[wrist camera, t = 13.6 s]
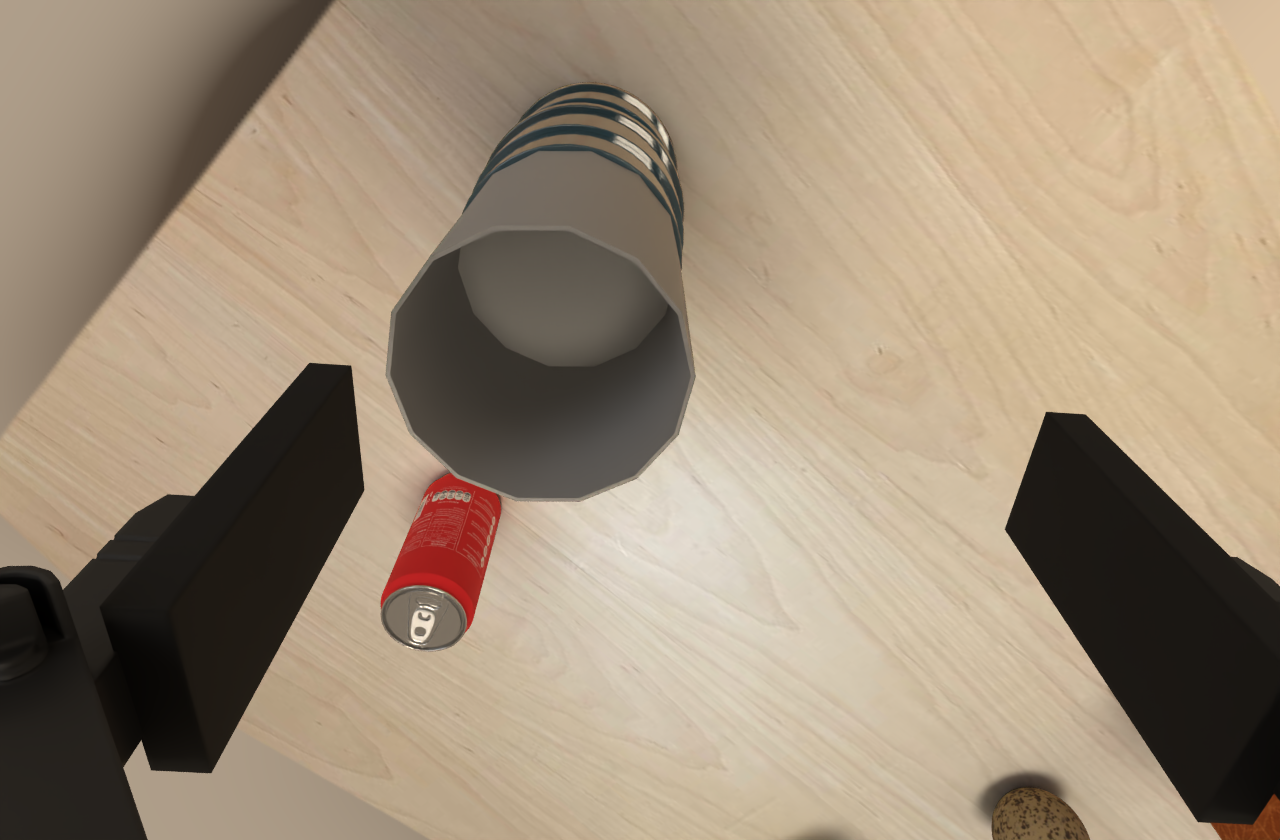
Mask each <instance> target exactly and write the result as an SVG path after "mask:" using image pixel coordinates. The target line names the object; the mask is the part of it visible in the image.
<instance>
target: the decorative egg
mask: <svg viewBox="0 0 1280 840" xmlns="http://www.w3.org/2000/svg"><path fill="white" fill-rule="evenodd" d="M992 837H993V840H1090V838H1089V835H1088V833H1087V831H1086V829H1085V827H1084V825H1083V823H1082V822H1081V820H1080V818H1079V817H1078V816H1077V814H1076V813H1075V812H1074V811H1073V810H1072V809H1071V807H1070V806H1068V805H1067V804H1066V803H1065V802H1064V801H1063V800H1061V799H1060V798H1058V797H1057V796H1055V795H1053V794H1052V793H1050V792H1047V791H1045V790H1042V789H1038V788H1031V787H1024V788H1019V789H1015V790H1013V791H1011V792H1009V793H1007V794H1006V795H1005V796H1003V797H1002V799H1001V800H1000V801H999V802H998V804H997V805H996V807H995V810H994V813H993V816H992Z"/></svg>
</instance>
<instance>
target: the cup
mask: <svg viewBox="0 0 1280 840" xmlns="http://www.w3.org/2000/svg"><path fill="white" fill-rule="evenodd" d="M386 377H387V380H388V382H389V385H390V387H391V390H392V392H393V395H394V397H395V399H396V402H397V404H398V407H399V409H400V412H401V414H402V416H403V419H404V421H405V424H406V426H407V429H408V431H409V433H410V435H411V436H413V437H414V438H415V439H416V440H417V441H418V442H419V443H420V444H421V445H422V446H423V447H424V448H425V449H426V450H427V451H428V452H430V453H431V454H432V455H433V456H434V457H435V458H436V459H437V460H438V461H439V462H440V463H441V464H442V465H443V466H444V467H445V468H446V469H448V470H449V471H450V472H451V473H452V474H453V475H454V476H455V477H456V478H458V479H461V480H463V481H466V482H468V483H471V484H473V485H476V486H478V487H481V488H484V489H486V490H489V491H491V492H494V493H496V494H499V495H501V496H504V497H506V498H509V499H512V500H514V501H546V502H580V501H583V500H585V499H588V498H590V497H593V496H595V495H598V494H600V493H603V492H605V491H607V490H610V489H612V488H615V487H617V486H620V485H622V484H625V483H627V482H630V481H632V480H635V479H637V478H638V477H639V476H640V475H641V474H642V473H643V472H644V471H645V470H646V469H647V468H648V466H649V465H650V464H651V463H652V462H653V461H654V460H655V459H656V458H657V457H658V456H659V455H660V454H661V453H662V452H663V451H664V450H665V449H666V448H667V447H668V445H669V444H670V443H671V442H672V441H673V440H674V439H675V438H676V437H677V436H678V435H679V431H680V428H681V425H682V421H683V418H684V414H685V411H686V408H687V404H688V401H689V397H690V394H691V391H692V387H693V384H694V380H695V377H696V375H695V368H694V361H693V354H692V346H691V339H690V332H689V324H688V317H687V310H686V303H685V295H684V288H683V281H682V273H681V266H680V260H679V256H678V251H677V246H676V241H675V236H674V231H673V226H672V222H671V217H670V215H669V213H668V212H667V211H666V209H665V208H664V207H663V206H662V204H661V203H660V202H659V200H658V199H657V198H656V197H655V195H654V194H653V193H652V191H651V190H650V189H649V187H648V186H647V185H646V184H645V182H644V181H643V180H642V178H641V177H640V176H639V175H638V174H636V173H634V172H632V171H630V170H628V169H626V168H624V167H622V166H620V165H618V164H616V163H614V162H612V161H610V160H608V159H606V158H604V157H602V156H600V155H598V154H596V153H594V152H592V151H538V152H536V153H534V154H532V155H530V156H528V157H526V158H524V159H522V160H520V161H518V162H516V163H514V164H512V165H510V166H508V167H506V168H504V169H502V170H500V171H498V172H496V173H494V174H493V175H492V176H491V177H490V179H489V180H488V181H487V183H486V184H485V185H484V186H483V188H482V189H481V190H480V192H479V193H478V194H477V196H476V197H475V198H474V200H473V201H472V202H471V203H470V205H469V206H468V207H467V209H466V210H465V211H464V213H463V214H462V215H461V217H460V218H459V219H458V220H457V222H456V223H455V224H454V226H453V227H452V228H451V230H450V231H449V232H448V234H447V235H446V236H445V237H444V239H443V240H442V241H441V243H440V244H439V245H438V247H437V248H436V249H435V251H434V252H433V253H432V254H431V256H430V257H429V259H428V260H427V261H426V263H425V264H424V266H423V267H422V269H421V270H420V271H419V273H418V274H417V276H416V277H415V279H414V280H413V281H412V283H411V284H410V286H409V287H408V289H407V290H406V291H405V293H404V294H403V296H402V297H401V299H400V300H399V301H398V303H397V304H396V306H395V307H394V309H393V310H392V311H391V321H390V332H389V342H388V353H387V364H386Z"/></svg>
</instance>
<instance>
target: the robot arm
mask: <svg viewBox="0 0 1280 840" xmlns="http://www.w3.org/2000/svg"><path fill="white" fill-rule="evenodd" d="M363 492H364V481H363V472H362V462H361V453H360V444H359V434H358V425H357V415H356V406H355V396H354V387H353V377H352V368H351V366H348V365H333V364H318V363H309V364H308V365H307V366H306V368H305V369H304V370H303V371H302V372H301V373H300V374H299V376H298V377H297V378H296V379H295V380H294V381H293V383H292V384H291V385H290V386H289V387H288V388H287V390H286V391H285V392H284V393H283V394H282V395H281V397H280V398H279V399H278V400H277V401H276V402H275V403H274V405H273V406H272V407H271V408H270V409H269V410H268V412H267V413H266V414H265V415H264V416H263V417H262V419H261V420H260V421H259V422H258V423H257V424H256V426H255V427H254V428H253V429H252V430H251V431H250V432H249V434H248V435H247V436H246V437H245V438H244V439H243V441H242V442H241V443H240V444H239V445H238V446H237V448H236V449H235V450H234V451H233V452H232V453H231V454H230V456H229V457H228V458H227V459H226V460H225V461H224V463H223V464H222V465H221V466H220V467H219V468H218V470H217V471H216V472H215V473H214V474H213V475H212V477H211V478H210V479H209V480H208V481H207V482H206V483H205V485H204V486H203V487H202V488H201V489H200V490H199V492H198V493H197V494H196V495H195V496H186V495H170V494H168V495H166V496H164V497H163V498H161V499H159V500H157V501H156V502H154V503H152V504H151V505H149V506H147V507H145V508H144V509H142V510H140V511H138V512H137V513H135V514H134V515H133V517H132V518H131V519H130V520H129V521H128V522H127V523H126V524H125V525H124V526H123V527H122V528H121V529H120V530H119V531H118V532H117V533H116V535H115V538H114V540H110V541H109V542H108V543H107V544H106V545H105V546H104V547H103V548H102V549H101V550H100V551H99V552H98V554H97V558H96V559H92V560H91V561H90V562H89V563H88V564H87V565H86V566H85V567H84V568H83V569H82V570H81V572H80V573H79V574H78V575H77V576H76V577H75V578H74V579H73V580H72V581H71V582H70V583H69V584H68V585H67V586H66V587H65V588H64V590H62V587H61V584H60V581H59V580H58V579H57V578H56V576H55V575H54V574H53V573H52V572H51V571H49V570H45V569H42V568H38V567H35V566H7V567H2V568H0V840H148V839H147V837H146V834H145V831H144V828H143V825H142V822H141V819H140V816H139V813H138V810H137V807H136V804H135V802H134V798H133V795H132V792H131V790H130V786H129V783H128V781H127V777H126V775H125V772H124V769H123V767H124V765H125V764H126V762H127V761H128V759H129V758H130V756H131V755H132V753H133V752H134V750H135V749H136V747H137V745H138V744H139V743H140V741H141V740H142V743H143V746H144V749H145V753H146V756H147V759H148V762H149V765H150V768H151V770H156V771H177V772H196V773H212V771H213V769H214V767H215V765H216V763H217V762H218V760H219V758H220V756H221V754H222V752H223V751H224V749H225V747H226V745H227V743H228V741H229V739H230V738H231V736H232V734H233V732H234V730H235V728H236V727H237V725H238V723H239V721H240V719H241V717H242V716H243V714H244V712H245V710H246V708H247V706H248V704H249V703H250V701H251V699H252V697H253V695H254V693H255V691H256V690H257V688H258V686H259V684H260V682H261V680H262V679H263V677H264V675H265V673H266V671H267V669H268V667H269V666H270V664H271V662H272V660H273V658H274V656H275V654H276V653H277V651H278V649H279V647H280V645H281V643H282V642H283V640H284V638H285V636H286V634H287V632H288V630H289V629H290V627H291V625H292V623H293V621H294V619H295V618H296V616H297V614H298V612H299V610H300V608H301V606H302V605H303V603H304V601H305V599H306V597H307V595H308V593H309V592H310V590H311V588H312V586H313V584H314V582H315V581H316V579H317V577H318V575H319V573H320V571H321V569H322V568H323V566H324V564H325V562H326V560H327V558H328V557H329V555H330V553H331V551H332V549H333V547H334V545H335V544H336V542H337V540H338V538H339V536H340V534H341V532H342V531H343V529H344V527H345V525H346V523H347V521H348V520H349V518H350V516H351V514H352V512H353V510H354V508H355V507H356V505H357V503H358V501H359V499H360V497H361V495H362V494H363ZM1005 530H1006V532H1007V534H1008V535H1009V537H1010V538H1011V540H1012V541H1013V543H1014V544H1015V546H1016V547H1017V549H1018V550H1019V552H1020V553H1021V555H1022V556H1023V558H1024V559H1025V561H1026V562H1027V564H1028V565H1029V567H1030V568H1031V570H1032V571H1033V573H1034V574H1035V576H1036V577H1037V579H1038V580H1039V582H1040V584H1041V585H1042V587H1043V588H1044V590H1045V591H1046V593H1047V594H1048V596H1049V597H1050V599H1051V600H1052V602H1053V603H1054V605H1055V606H1056V608H1057V609H1058V611H1059V612H1060V614H1061V615H1062V617H1063V618H1064V620H1065V621H1066V623H1067V624H1068V626H1069V627H1070V629H1071V630H1072V632H1073V634H1074V635H1075V637H1076V638H1077V640H1078V641H1079V643H1080V644H1081V646H1082V647H1083V649H1084V650H1085V652H1086V653H1087V655H1088V656H1089V658H1090V659H1091V661H1092V662H1093V664H1094V665H1095V667H1096V668H1097V670H1098V671H1099V673H1100V674H1101V676H1102V677H1103V679H1104V680H1105V682H1106V684H1107V685H1108V687H1109V688H1110V690H1111V691H1112V693H1113V694H1114V696H1115V697H1116V699H1117V700H1118V702H1119V703H1120V705H1121V706H1122V708H1123V709H1124V711H1125V712H1126V714H1127V715H1128V717H1129V718H1130V720H1131V721H1132V723H1133V724H1134V726H1135V727H1136V729H1137V731H1138V732H1139V734H1140V735H1141V737H1142V738H1143V740H1144V741H1145V743H1146V744H1147V746H1148V747H1149V749H1150V750H1151V752H1152V753H1153V755H1154V756H1155V758H1156V759H1157V761H1158V762H1159V764H1160V765H1161V767H1162V768H1163V770H1164V771H1165V773H1166V774H1167V776H1168V777H1169V779H1170V781H1171V782H1172V784H1173V785H1174V787H1175V788H1176V790H1177V791H1178V793H1179V794H1180V796H1181V797H1182V799H1183V800H1184V802H1185V803H1186V805H1187V806H1188V808H1189V809H1190V811H1191V812H1192V814H1193V815H1194V817H1195V818H1196V820H1197V821H1198V822H1206V823H1227V824H1247V825H1253V824H1254V823H1255V821H1256V820H1257V818H1258V817H1259V815H1260V814H1261V812H1262V811H1263V809H1264V808H1265V806H1266V805H1267V803H1268V802H1269V800H1270V799H1271V797H1272V796H1273V795H1274V794H1275V795H1276V797H1277V798H1278V799H1279V801H1280V586H1279V585H1278V584H1277V583H1276V582H1275V581H1274V580H1272V579H1271V578H1270V577H1268V576H1266V575H1265V574H1263V573H1262V572H1260V571H1258V570H1257V569H1255V568H1254V567H1252V566H1250V565H1249V564H1247V563H1246V562H1244V561H1243V560H1241V559H1239V558H1238V557H1230V556H1229V555H1228V554H1227V553H1226V552H1225V551H1224V550H1223V549H1222V548H1221V547H1220V546H1219V545H1218V544H1217V543H1216V542H1215V541H1214V540H1213V539H1212V538H1211V537H1210V536H1209V535H1208V534H1207V533H1206V532H1205V531H1204V530H1203V529H1202V528H1201V527H1200V526H1199V525H1198V524H1197V523H1196V522H1195V521H1194V520H1193V519H1192V518H1190V517H1189V516H1188V515H1187V514H1186V513H1185V512H1184V511H1183V510H1182V509H1181V508H1180V507H1179V506H1178V505H1177V504H1176V503H1175V502H1174V501H1173V500H1172V499H1171V498H1170V497H1169V496H1168V495H1167V494H1166V493H1165V492H1164V491H1163V490H1162V489H1161V488H1160V487H1159V486H1158V485H1157V484H1156V483H1155V482H1154V481H1153V480H1152V479H1151V478H1150V477H1149V476H1148V475H1147V474H1146V473H1145V472H1144V471H1143V470H1142V469H1141V468H1140V467H1139V466H1138V465H1136V464H1135V463H1134V462H1133V461H1132V460H1131V459H1130V458H1129V457H1128V456H1127V455H1126V454H1125V453H1124V452H1123V451H1122V450H1121V449H1120V448H1119V447H1118V446H1117V445H1116V444H1115V443H1114V442H1113V441H1112V440H1111V439H1110V438H1109V437H1108V436H1107V435H1106V434H1105V433H1104V432H1103V431H1102V430H1101V429H1100V428H1099V427H1098V426H1097V425H1096V424H1095V423H1094V422H1093V421H1092V420H1091V419H1090V418H1089V417H1088V416H1087V415H1085V414H1070V413H1055V412H1046V414H1045V417H1044V420H1043V423H1042V425H1041V428H1040V431H1039V434H1038V437H1037V440H1036V442H1035V445H1034V448H1033V451H1032V454H1031V457H1030V459H1029V462H1028V465H1027V468H1026V471H1025V474H1024V476H1023V479H1022V482H1021V485H1020V488H1019V491H1018V493H1017V496H1016V499H1015V502H1014V505H1013V508H1012V511H1011V513H1010V516H1009V519H1008V522H1007V525H1006V528H1005ZM1278 840H1280V838H1279V839H1278Z"/></svg>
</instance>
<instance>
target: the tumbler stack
mask: <svg viewBox="0 0 1280 840" xmlns="http://www.w3.org/2000/svg"><path fill="white" fill-rule="evenodd" d="M538 151H592V152H594V153H596V154H598V155H600V156H602V157H604V158H606V159H608V160H610V161H612V162H614V163H616V164H618V165H620V166H622V167H624V168H626V169H628V170H630V171H632V172H634V173H636V174H638V175H639V176H640V177H641V178H642V180H643V181H644V182H645V184H646V185H647V186H648V187H649V189H650V190H651V191H652V193H653V194H654V195H655V197H656V198H657V199H658V200H659V202H660V203H661V204H662V206H663V207H664V208H665V209H666V211H667V212H668V213H669V215H670V217H671V222H672V226H673V231H674V236H675V241H676V246H677V251H678V256H679V260H680V266H681V270H682V250H683V238H684V229H683V221H684V202H683V193H682V188H681V184H680V180H679V176H678V173H677V164H676V156H675V152H674V148H673V144H672V142H671V139H670V137H669V134H668V132H667V130H666V129H665V127H664V125H663V123H662V122H661V120H660V119H659V118H658V116H657V115H656V114H655V113H654V111H653V110H652V109H651V108H650V107H649V106H648V105H647V104H645V103H644V102H643V101H642V100H640V99H639V98H638V97H636V96H634V95H633V94H631V93H629V92H628V91H625V90H623V89H621V88H618V87H616V86H612V85H608V84H603V83H596V82H582V83H576V84H570V85H567V86H563V87H560V88H558V89H556V90H554V91H551V92H549V93H548V94H546V95H545V96H543V97H542V98H540V99H539V100H538V101H537V102H535V103H534V104H533V105H532V106H531V107H530V108H529V109H528V110H527V112H526V113H525V114H524V115H523V116H522V118H521V119H520V121H519V122H518V124H517V125H516V126H515V127H514V128H512V129H511V130H510V131H509V132H508V133H507V134H506V136H505V137H504V138H503V139H502V140H501V141H500V143H499V144H498V145H497V147H496V148H495V150H494V152H493V153H492V155H491V157H490V159H489V161H488V163H487V165H486V167H485V169H484V170H483V172H482V174H481V175H480V177H479V179H478V181H477V183H476V185H475V187H474V189H473V192H472V195H471V196H470V198H469V199H468V202H467V204H466V206H465V208H464V210H463V213H464V211H465V210H466V209H467V207H468V206H469V205H470V203H471V202H472V201H473V200H474V198H475V197H476V196H477V194H478V193H479V192H480V190H481V189H482V188H483V186H484V185H485V184H486V183H487V181H488V180H489V179H490V177H491V176H492V175H493V174H494V173H496V172H498V171H500V170H502V169H504V168H506V167H508V166H510V165H512V164H514V163H516V162H518V161H520V160H522V159H524V158H526V157H528V156H530V155H532V154H534V153H536V152H538ZM463 213H462V214H463Z"/></svg>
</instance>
